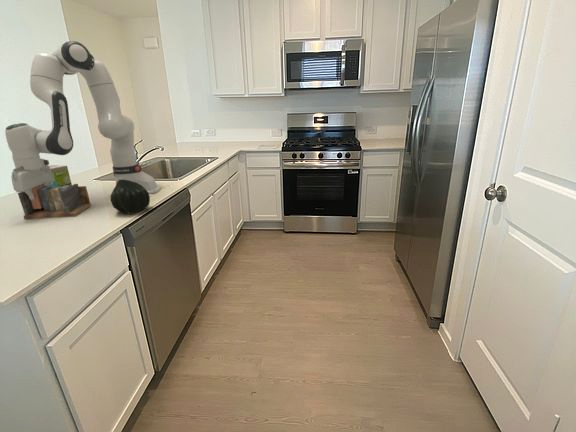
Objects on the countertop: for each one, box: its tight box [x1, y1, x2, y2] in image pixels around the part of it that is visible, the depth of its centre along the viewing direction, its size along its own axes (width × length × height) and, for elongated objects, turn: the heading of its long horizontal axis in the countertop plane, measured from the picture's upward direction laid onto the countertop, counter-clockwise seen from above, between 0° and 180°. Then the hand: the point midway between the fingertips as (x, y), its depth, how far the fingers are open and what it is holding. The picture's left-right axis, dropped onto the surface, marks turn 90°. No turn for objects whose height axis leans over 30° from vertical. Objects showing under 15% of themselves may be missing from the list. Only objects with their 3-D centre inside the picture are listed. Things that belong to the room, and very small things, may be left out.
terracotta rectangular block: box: [30, 185, 44, 209], centre depth 134 cm, size 3×6×9 cm, turn 7°
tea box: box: [46, 164, 73, 188], centre depth 161 cm, size 15×10×15 cm, turn 168°
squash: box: [110, 179, 151, 215], centre depth 136 cm, size 14×15×15 cm
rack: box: [17, 183, 92, 220], centre depth 136 cm, size 20×14×12 cm
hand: (38, 196), depth 134 cm, fingers closed on terracotta rectangular block, 6 cm apart
